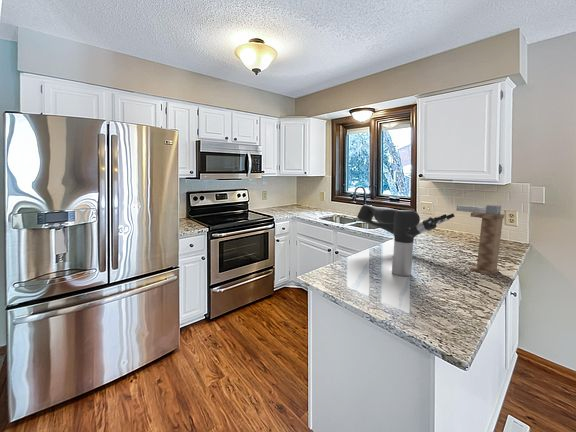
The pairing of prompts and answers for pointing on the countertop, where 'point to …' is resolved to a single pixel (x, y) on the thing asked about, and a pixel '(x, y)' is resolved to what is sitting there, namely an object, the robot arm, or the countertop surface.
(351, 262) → the countertop surface
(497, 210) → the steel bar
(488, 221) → the wooden pedestal
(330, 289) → the countertop surface
